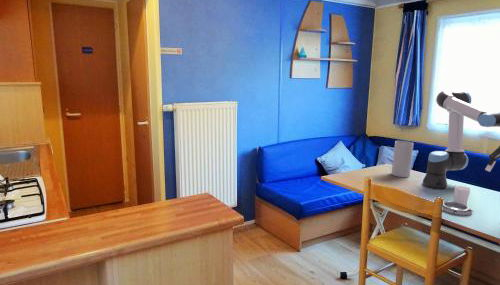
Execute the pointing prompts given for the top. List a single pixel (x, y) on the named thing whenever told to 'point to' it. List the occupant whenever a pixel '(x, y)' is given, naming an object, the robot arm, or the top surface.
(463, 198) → the white cup
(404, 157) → the cylinder vase
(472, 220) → the top surface
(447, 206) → the rosette plate
